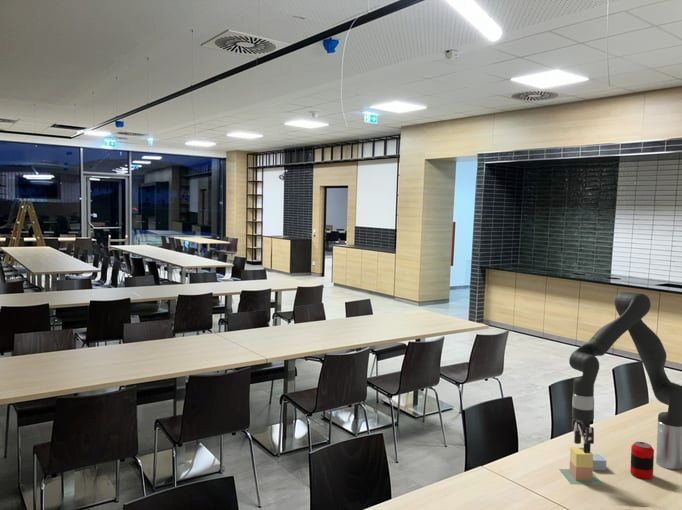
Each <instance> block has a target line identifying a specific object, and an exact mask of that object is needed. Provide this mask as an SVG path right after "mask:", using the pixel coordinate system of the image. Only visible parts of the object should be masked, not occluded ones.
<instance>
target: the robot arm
mask: <svg viewBox="0 0 682 510" xmlns="http://www.w3.org/2000/svg"><path fill="white" fill-rule="evenodd" d="M614 307H615V310H616V312H617V314H618V315H619V317H617V318H615V319H614V320H613V321H611V322H609V323H607V324H605V325H603V326H602V327H600V328H599V329H598V330H597V331H596V332H595V333H594V334H593V336H592V337H590V339H589V340H588V341H587V342H586V343H583V344H582V345H581V346H579V347H578V348H577V349H575V350H574V351H573V352H572V353H571V355H570V357H569V359H568V360H569V363H568V364H569V365H570V367H571V368H572V369H574V370H576V371H578V372H581V373H582V375H581V376H578V377H575V378H574V379H573V383H572V384H573V385H572V386H573V388H572V389H573V390H572V401H571V417H572V418H571V430H572V431H573V434H574V437H573V438H574V440H573V441H574V444H575V445H579V444H581V443H582V441H583V448H584V450H583V451H584V453H590V452H591V445H593V444H594V443H595V435H594V434H595V428H594V427H592V426H591V425H590V422H591V421H594V419H595V396H594V395H595V394H594V391H595V382H596V380H597V377H598V374H599V370H600V362H599V360H598V357H603V356H605V354H606V353H607V352H608V351H609V350H610V349H611V347H613V345H614V344H615V343H616V342H617V341H618V340H619V339H620V337H621V336H622V335H624V334H625V333H626V332H628V333H629V336H630V338H631V339H632V342H633V344H634V347H635V349H636V351H637V353H638V355H639V358H640V360H641V362H642V365H643V366H644V368H645V371H646V373H647V376H648V380H649V382H650V386H651V388H652V393H653V394H654V395H653V396H654V397H655V398H656V400H657V401H658V402H660V403H662V404H664V405H667V406H668V408H667V411H662V412H658V413H659V414H658V415H657V435H656V453H655V454H656V456H655V461H656V464H657V465H659V466H660V467H663V468H666V469H670V470H682V385H681V384H679V383H675V382H672V381H671V380H670V379H669V378H668V375H667V374H666V371H665V365H666V361H667V352H666V349H665V347H664V345H663V343H662V340H661V339H660V337H659V336H658V335H657V334H656V333H655V332H654V330H652V329H651V328H650V327H649V326H648V325H647V324H646V323H645V322H644V321H643V320H642V319H643V318H644V317H645V316H646V315H647V314H648V313H649V312H650V310H651V307H652V306H651V299H650V298H649V297H648V295H646V294H644V293H640V292H631V291H630V292H629V291H622V292H619V293H617V295H615V298H614Z"/></svg>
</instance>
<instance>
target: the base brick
mask: <svg viewBox="0 0 682 510" xmlns="http://www.w3.org/2000/svg"><path fill="white" fill-rule="evenodd" d="M569 469H570V474H571V475H572V476H573V478H574V479H575V480H581V481H592V472H593V471H594V470H593V468H585V467H575V465H574V464H573V463H572V462H571V461H570V460H569Z"/></svg>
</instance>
